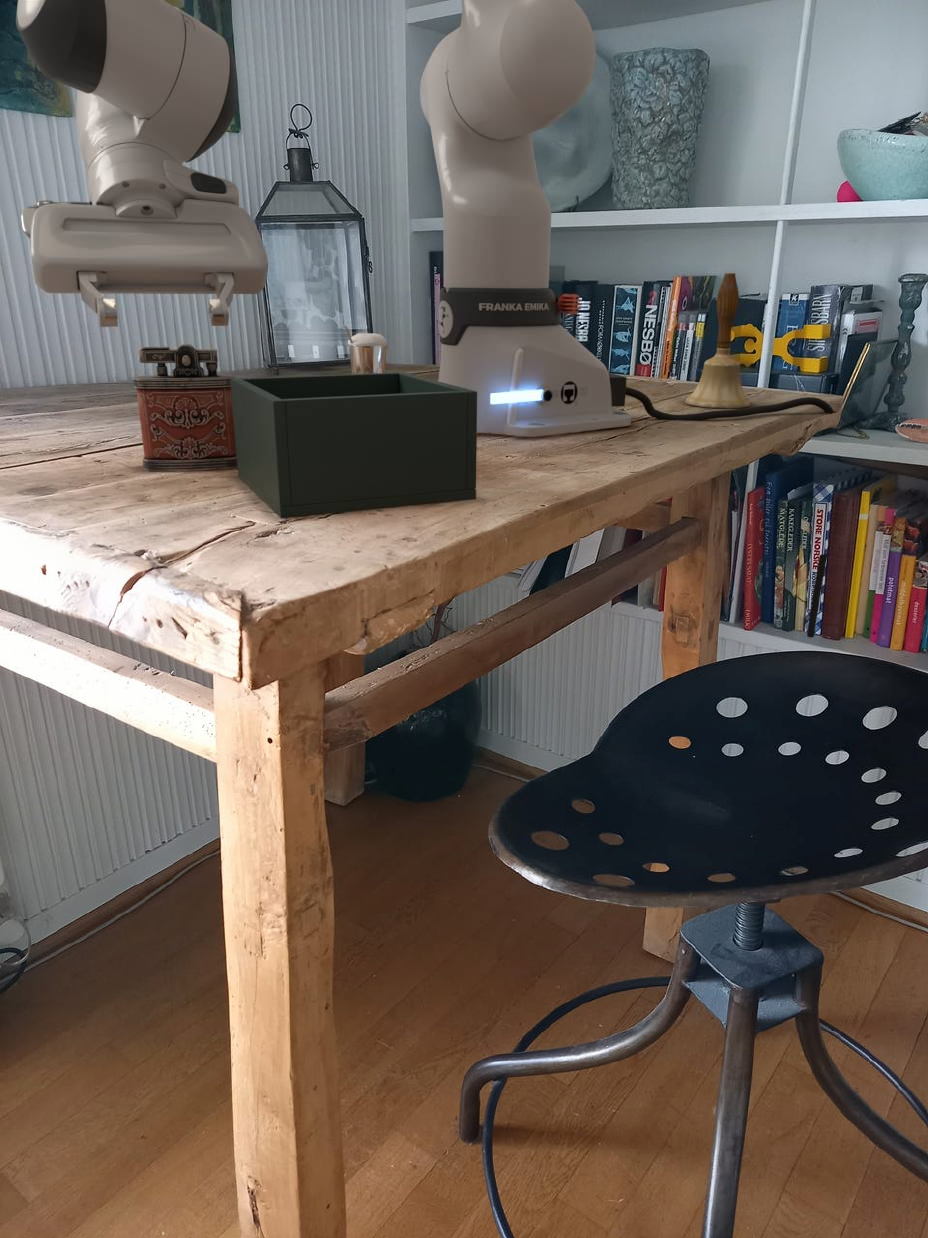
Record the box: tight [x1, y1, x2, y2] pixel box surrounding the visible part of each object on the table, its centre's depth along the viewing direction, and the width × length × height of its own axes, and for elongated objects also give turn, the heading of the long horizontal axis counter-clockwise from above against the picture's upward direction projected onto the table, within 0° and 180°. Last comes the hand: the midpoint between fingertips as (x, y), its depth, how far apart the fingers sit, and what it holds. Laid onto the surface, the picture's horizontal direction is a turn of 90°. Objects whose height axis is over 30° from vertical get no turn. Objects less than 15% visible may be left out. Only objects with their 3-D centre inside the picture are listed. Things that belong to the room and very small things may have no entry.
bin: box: [230, 371, 478, 519], centre depth 69 cm, size 15×15×8 cm
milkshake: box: [344, 325, 388, 374], centre depth 106 cm, size 4×5×10 cm
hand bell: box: [684, 272, 752, 409], centre depth 115 cm, size 8×8×16 cm
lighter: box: [132, 343, 238, 472], centre depth 75 cm, size 8×3×10 cm, turn 102°
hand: (166, 321), depth 79 cm, fingers open, 8 cm apart
